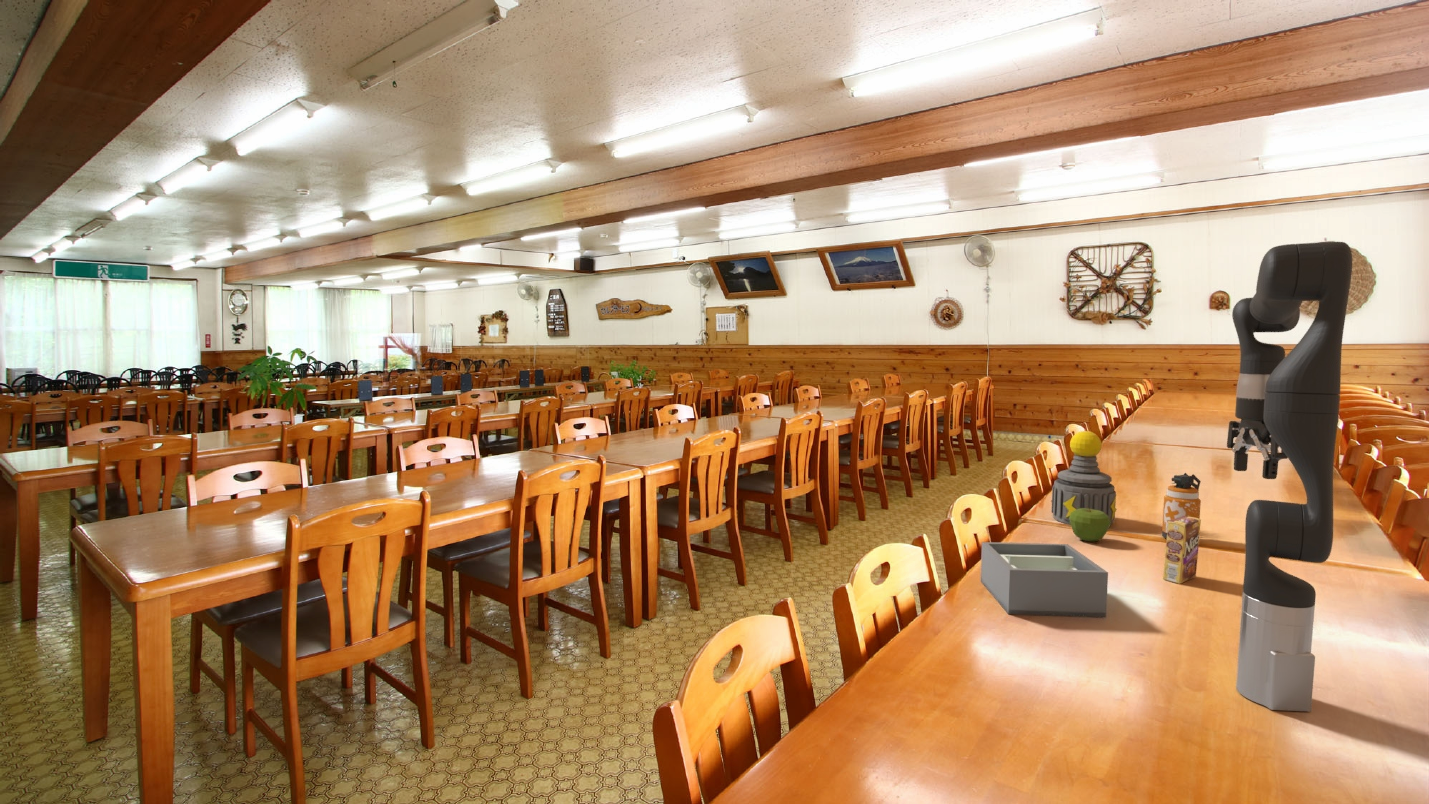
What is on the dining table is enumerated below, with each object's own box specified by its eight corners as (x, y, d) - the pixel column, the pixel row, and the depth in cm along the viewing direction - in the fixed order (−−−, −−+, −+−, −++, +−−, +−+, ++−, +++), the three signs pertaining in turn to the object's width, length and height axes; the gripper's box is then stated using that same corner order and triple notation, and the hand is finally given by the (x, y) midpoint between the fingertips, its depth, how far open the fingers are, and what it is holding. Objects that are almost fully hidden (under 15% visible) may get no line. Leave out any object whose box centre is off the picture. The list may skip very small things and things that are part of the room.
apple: (1072, 544, 198) (1073, 510, 198) (1064, 534, 209) (1066, 502, 208) (1113, 547, 195) (1115, 513, 194) (1104, 537, 205) (1105, 504, 204)
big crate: (1105, 617, 146) (1108, 572, 145) (1008, 614, 148) (1009, 569, 147) (1065, 583, 166) (1067, 544, 166) (980, 581, 168) (981, 542, 167)
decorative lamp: (1064, 510, 237) (1068, 425, 234) (1124, 521, 223) (1128, 431, 220) (1040, 519, 225) (1044, 430, 222) (1101, 532, 211) (1106, 436, 208)
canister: (1155, 538, 204) (1158, 472, 202) (1177, 533, 209) (1181, 469, 207) (1186, 546, 196) (1190, 478, 194) (1209, 541, 201) (1213, 474, 199)
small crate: (1084, 606, 150) (1086, 567, 149) (1018, 604, 151) (1020, 565, 150) (1058, 584, 163) (1060, 547, 163) (998, 582, 165) (999, 546, 164)
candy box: (1181, 585, 165) (1185, 524, 164) (1162, 580, 169) (1165, 520, 167) (1197, 577, 170) (1201, 518, 169) (1178, 573, 174) (1182, 514, 172)
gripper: (1306, 399, 130) (1300, 482, 132) (1254, 393, 144) (1249, 468, 146) (1264, 399, 131) (1259, 481, 132) (1217, 393, 145) (1212, 467, 146)
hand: (1254, 474), depth 139 cm, fingers open, 8 cm apart
